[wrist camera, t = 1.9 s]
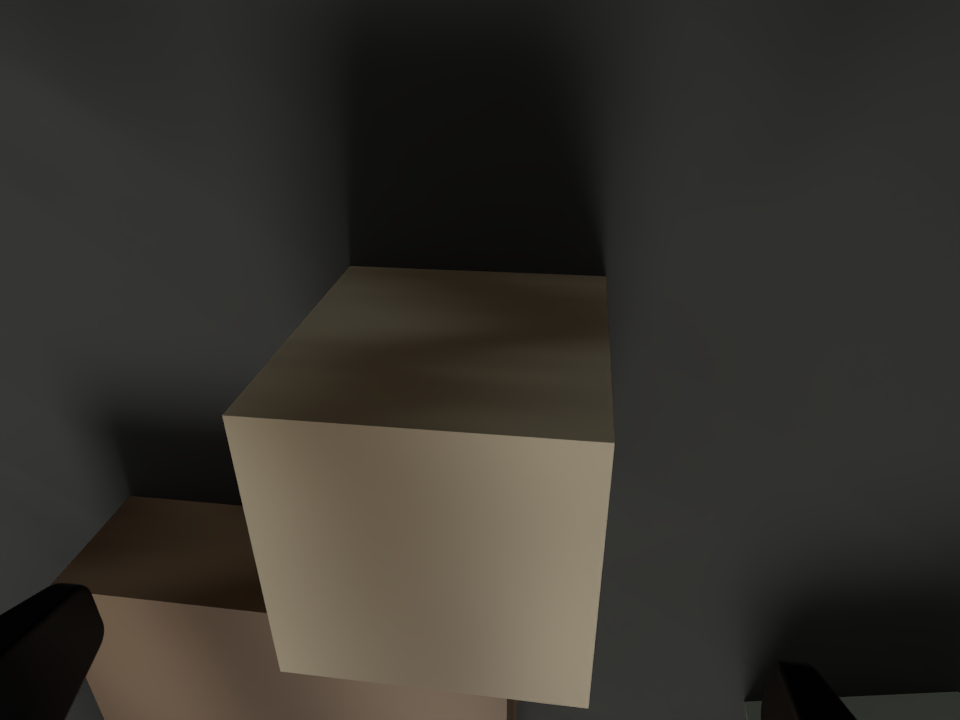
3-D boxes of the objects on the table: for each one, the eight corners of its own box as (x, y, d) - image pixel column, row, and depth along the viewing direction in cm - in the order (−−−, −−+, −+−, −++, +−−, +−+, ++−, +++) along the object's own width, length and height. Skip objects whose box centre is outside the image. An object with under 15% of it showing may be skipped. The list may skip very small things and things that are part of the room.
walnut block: (523, 519, 17) (507, 640, 14) (516, 765, 21) (504, 894, 18) (139, 485, 18) (47, 588, 15) (214, 725, 23) (156, 839, 20)
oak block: (605, 274, 13) (614, 443, 8) (588, 484, 15) (588, 708, 11) (351, 264, 14) (221, 415, 9) (372, 467, 16) (280, 671, 11)
